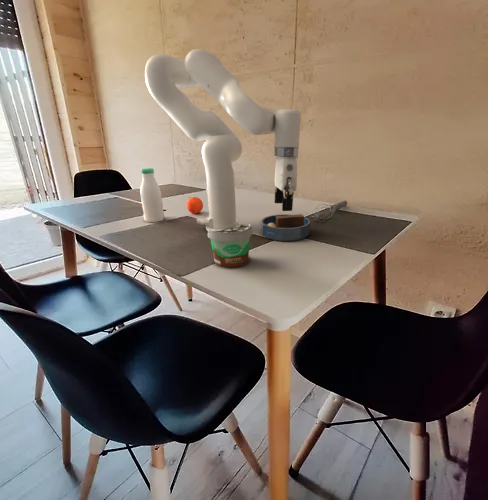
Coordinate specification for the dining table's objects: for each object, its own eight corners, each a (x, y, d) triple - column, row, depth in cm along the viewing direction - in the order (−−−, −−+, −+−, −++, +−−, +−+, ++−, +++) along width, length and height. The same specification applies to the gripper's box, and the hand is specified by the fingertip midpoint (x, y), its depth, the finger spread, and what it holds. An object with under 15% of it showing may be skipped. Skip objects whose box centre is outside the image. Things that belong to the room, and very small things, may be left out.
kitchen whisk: (352, 205, 139) (354, 191, 137) (323, 226, 113) (324, 209, 111) (339, 204, 142) (340, 190, 140) (308, 223, 116) (309, 207, 114)
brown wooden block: (300, 229, 108) (301, 214, 106) (303, 232, 105) (304, 216, 103) (275, 231, 106) (275, 216, 104) (277, 234, 104) (277, 218, 102)
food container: (216, 273, 79) (213, 236, 75) (209, 264, 84) (206, 229, 80) (260, 264, 83) (260, 229, 79) (251, 256, 88) (250, 222, 85)
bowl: (267, 244, 97) (267, 230, 96) (257, 228, 112) (256, 216, 110) (316, 239, 100) (317, 226, 98) (300, 224, 115) (300, 213, 113)
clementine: (182, 213, 133) (180, 196, 130) (195, 209, 138) (193, 193, 135) (194, 216, 128) (192, 199, 125) (207, 212, 133) (205, 196, 130)
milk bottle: (168, 218, 126) (162, 168, 118) (153, 223, 120) (145, 170, 112) (155, 216, 130) (148, 166, 122) (140, 220, 124) (131, 169, 116)
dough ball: (268, 235, 103) (265, 233, 106) (278, 233, 104) (274, 231, 107) (267, 224, 102) (263, 222, 105) (277, 222, 103) (273, 221, 106)
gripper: (307, 155, 89) (302, 213, 96) (289, 150, 105) (286, 200, 111) (281, 155, 88) (278, 214, 94) (267, 150, 103) (266, 200, 110)
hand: (282, 206), depth 103 cm, fingers open, 9 cm apart
